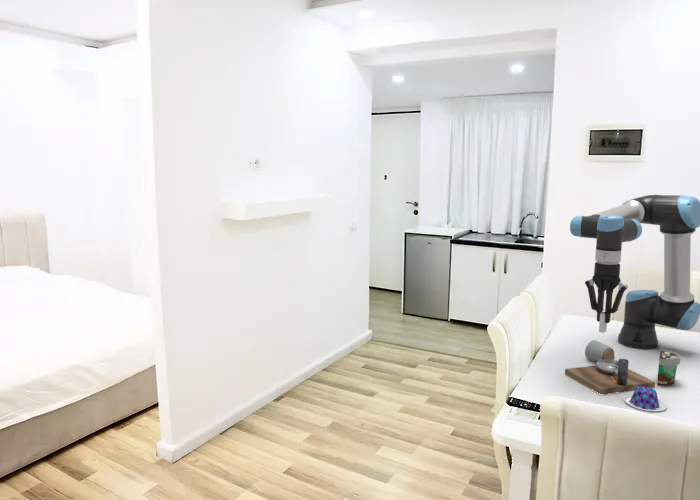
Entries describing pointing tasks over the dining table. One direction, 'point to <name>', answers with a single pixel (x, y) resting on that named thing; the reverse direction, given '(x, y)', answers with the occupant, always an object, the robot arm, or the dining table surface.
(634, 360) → the dining table surface
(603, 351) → the ceramic mug
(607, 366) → the steel serving spoon
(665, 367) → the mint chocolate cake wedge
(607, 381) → the wooden cutting board
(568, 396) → the dining table surface
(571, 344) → the dining table surface
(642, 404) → the pudding
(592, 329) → the dining table surface
